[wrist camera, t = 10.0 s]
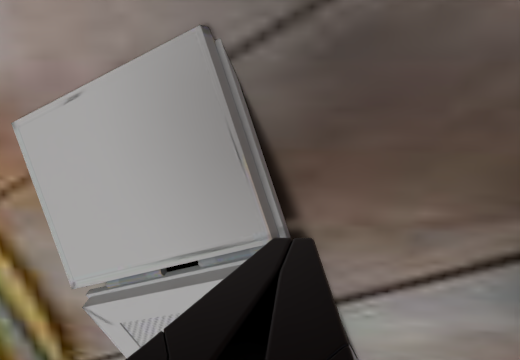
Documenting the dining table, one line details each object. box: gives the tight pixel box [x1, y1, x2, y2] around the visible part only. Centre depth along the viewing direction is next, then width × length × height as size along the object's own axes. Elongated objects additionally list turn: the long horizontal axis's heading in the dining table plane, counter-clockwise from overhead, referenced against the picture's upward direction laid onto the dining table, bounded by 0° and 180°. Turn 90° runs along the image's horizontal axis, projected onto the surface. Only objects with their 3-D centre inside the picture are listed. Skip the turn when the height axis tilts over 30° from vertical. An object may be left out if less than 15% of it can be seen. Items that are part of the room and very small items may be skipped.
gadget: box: [11, 25, 358, 360], centre depth 26 cm, size 23×15×4 cm, turn 25°
